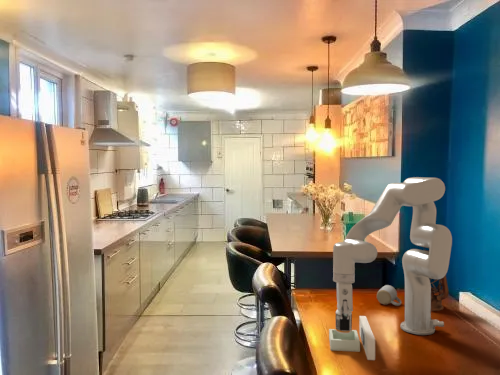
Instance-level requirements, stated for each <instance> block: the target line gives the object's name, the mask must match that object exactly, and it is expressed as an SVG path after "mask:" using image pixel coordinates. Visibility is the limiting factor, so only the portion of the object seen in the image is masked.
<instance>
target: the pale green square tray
mask: <svg viewBox="0 0 500 375" xmlns="http://www.w3.org/2000/svg"><path fill="white" fill-rule="evenodd" d="M358 333H359V332H358V331H357V329H352V332H351V333H349V334H340V333H338V332H337V331H336V328H329V329H328V334H329V335H328V338H329V349H330V351H335V352H336V351H338V352H341V351H342V352H357V353H358V352H361V341H360V340H361V339H360V336H359V334H358Z"/></svg>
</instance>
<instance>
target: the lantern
mask: <svg viewBox="0 0 500 375" xmlns="http://www.w3.org/2000/svg"><path fill="white" fill-rule="evenodd" d="M425 248H426V247H423V251H428V252H429V250H426V249H425ZM429 280H430V284H432V286H433V287H432V286H431V312H437V311H439V312H440V311H443V310H444V306H443V300H445V299H446V298H448V297H449V294H450V293H449V286H448V279H447V274H446V275H445V276H444V277H443V278H441V279H434V281H432V282H431V280H432V279H431V278H429ZM437 281H438V285H437V287H436V286H435V284H434V283H435V282H437ZM437 293H438V294H437ZM436 294H437V295H436Z"/></svg>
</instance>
